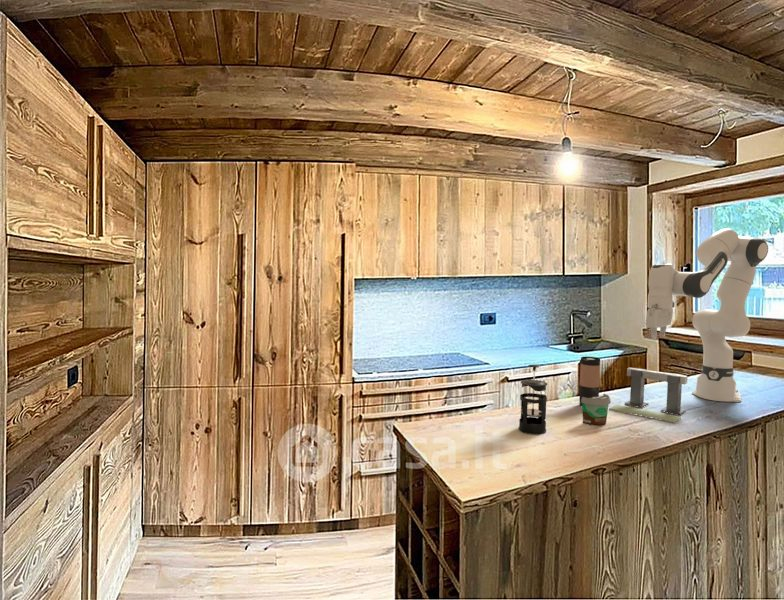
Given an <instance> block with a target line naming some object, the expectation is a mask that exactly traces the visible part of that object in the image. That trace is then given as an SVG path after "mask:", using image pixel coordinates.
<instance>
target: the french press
mask: <svg viewBox="0 0 784 600" xmlns="http://www.w3.org/2000/svg"><path fill="white" fill-rule="evenodd" d="M528 367H529V368H532V371H533V377H532V379H523V380H520V384H521V388H524V387H529V388H531V389H532V392H527V393H525V392H524V393H521V394H520V395H519V400H520V402H521V403H520V418H519V420H518V421H519V422H518V423H519V424H518V430H519V432H520V433H521V432H522V433H524V434H528V435H544V434H545V433H547V428H546V427H547V421H546V416H547V401H548V397H547V395H546V394H542V393H535V392H545V391H546V390H547V385H548V383H547V382H546V381H544V380H539V379H538V380H537V379H535V378H536V377H535V376H536V375H535V374H536V373H535V372H536V371H537V368H541V365H539V364H528ZM535 398H537V399H535ZM529 403H530V404H532V407H531V408H528V405H529ZM534 404H537V405H538V406H537V407H538V409H536V408H535V407H534Z"/></svg>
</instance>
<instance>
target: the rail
mask: <svg viewBox="0 0 784 600" xmlns="http://www.w3.org/2000/svg"><path fill="white" fill-rule="evenodd" d="M637 368H638V367H628V368H626V376H627V377H631V369H633V370H639V371H642V374H641V378H645V379H647V380H654V381H658V382H659V381H660V382H665V383H666V382H667V375H674V376H679V384H682V385H687V384H688V378H689V377H688V375H684V374H682V375H678V374H679V373H675V374H671V373H672V372H662V371H657V370H656V371H655V370H649V369H646V370H643V369H644V368H640V369H637Z"/></svg>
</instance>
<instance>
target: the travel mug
mask: <svg viewBox="0 0 784 600" xmlns="http://www.w3.org/2000/svg"><path fill="white" fill-rule="evenodd" d="M579 368H580V370H579V371H580V372H579V373H580V374H579V400H578V401H579V406H580V407H581V406H582V403H581V399H582V397H585V398H590V397H600V386H601V385H600V383H601V381H600V380H601V358H600V357H596V356H582V357H580V367H579Z"/></svg>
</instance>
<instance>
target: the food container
mask: <svg viewBox="0 0 784 600" xmlns="http://www.w3.org/2000/svg"><path fill="white" fill-rule="evenodd" d="M611 402H612V401H611V397H610V395H609V394H606V393H603V394H602V396H600V395H599V397H590V398H585V397H582V399H581V403H582V407H581V409H582V413H581V414H582V424H584V425H587V424H588V425H587V426H593V425H594V426H597V427H600V426H602V425H603V426H605V425H606V424H607V418H608V413H609V412H608V411H609V405H610V404H611Z"/></svg>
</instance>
